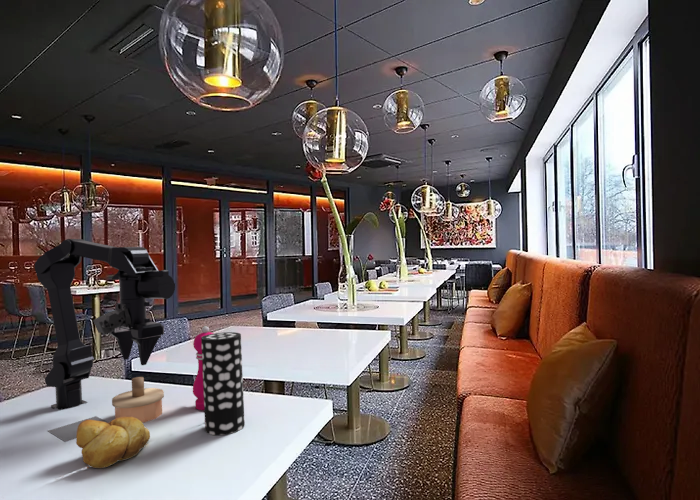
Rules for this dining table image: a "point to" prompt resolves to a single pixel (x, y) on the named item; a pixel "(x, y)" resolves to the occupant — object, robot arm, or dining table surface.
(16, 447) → the dining table surface
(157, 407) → the bowl
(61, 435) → the mat
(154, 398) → the lid
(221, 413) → the white-spotted black cylinder
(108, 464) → the bread roll
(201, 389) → the pepper mill
